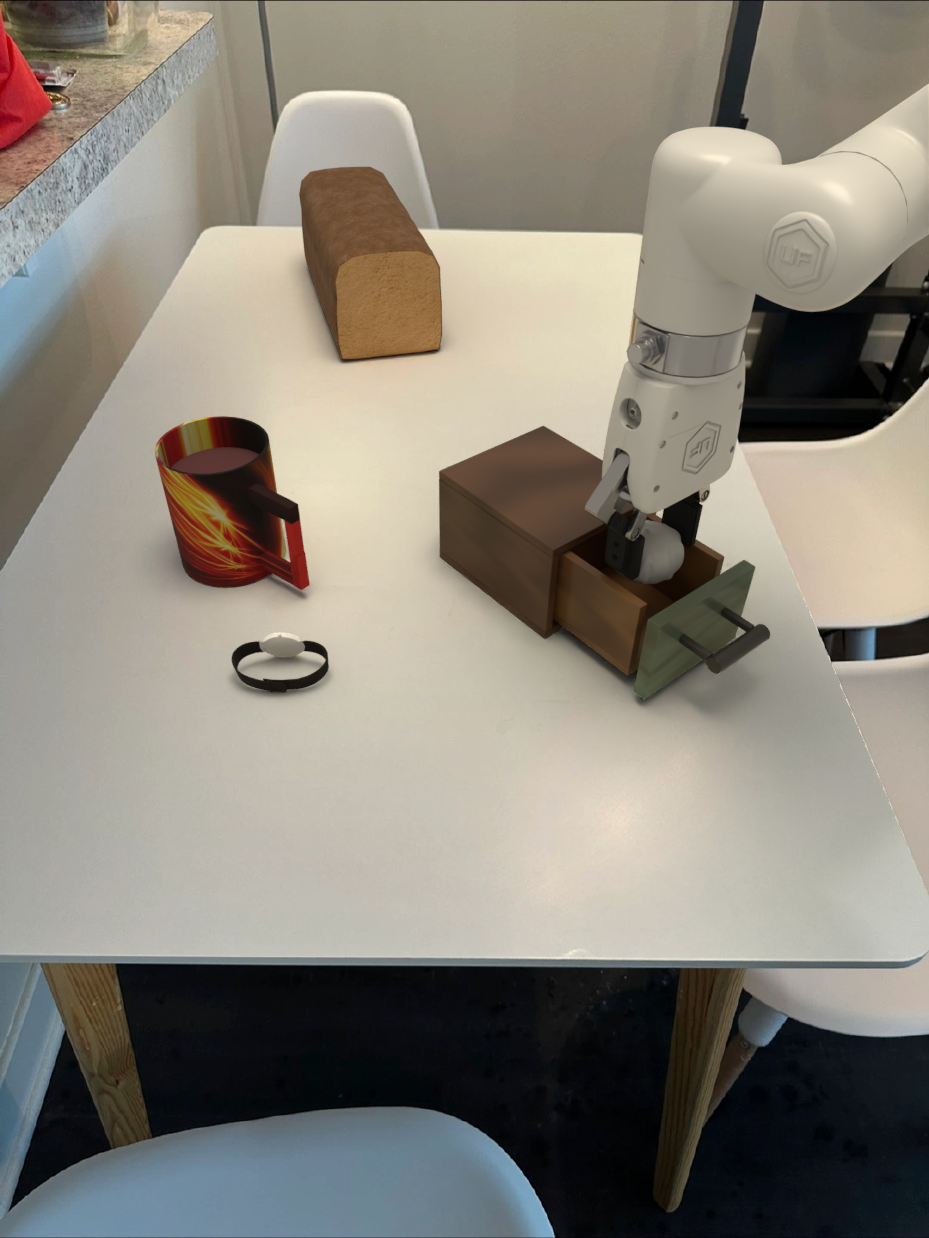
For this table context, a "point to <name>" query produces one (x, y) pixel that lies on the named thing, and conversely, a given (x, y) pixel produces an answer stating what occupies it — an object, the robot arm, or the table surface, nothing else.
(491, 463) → the cabinet
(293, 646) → the watch
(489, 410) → the table surface
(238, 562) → the mug
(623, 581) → the drawer
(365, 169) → the bread
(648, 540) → the garlic
